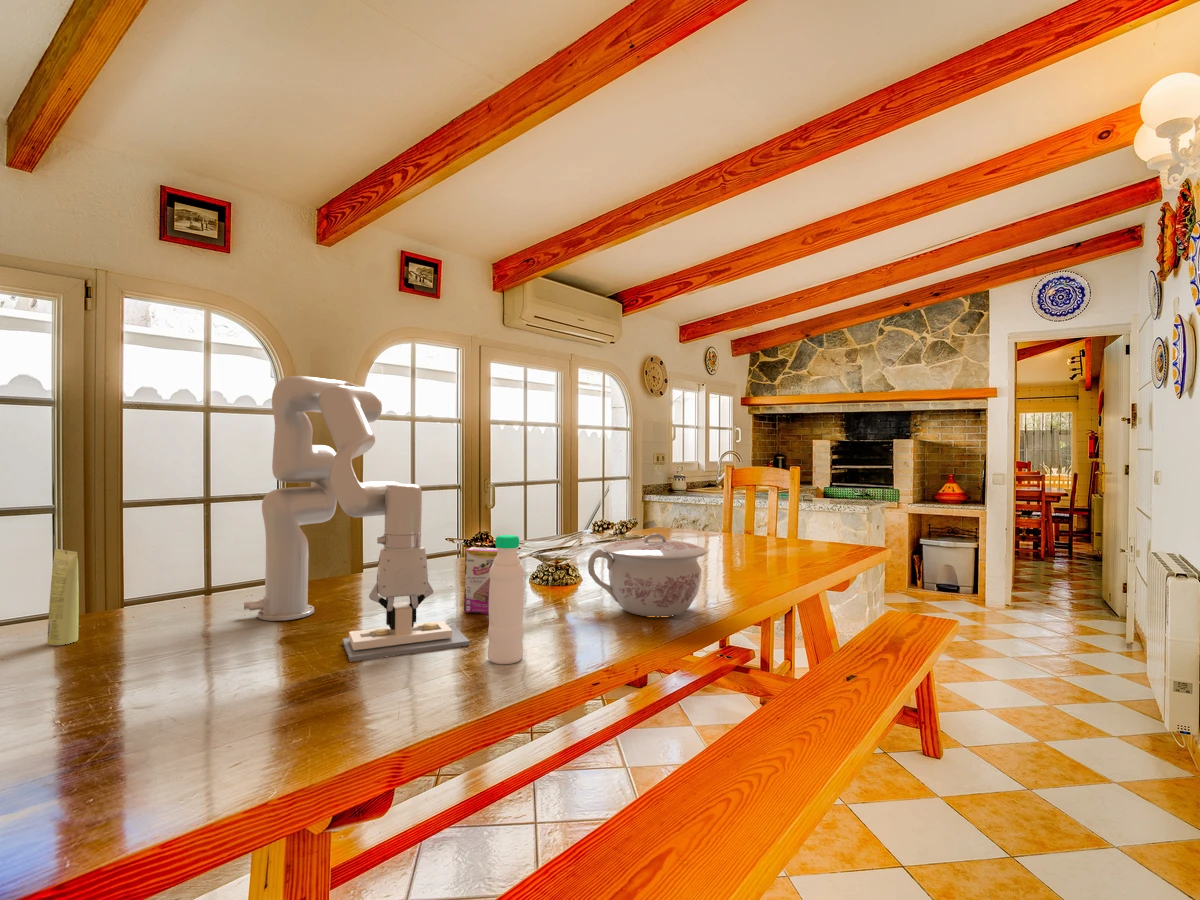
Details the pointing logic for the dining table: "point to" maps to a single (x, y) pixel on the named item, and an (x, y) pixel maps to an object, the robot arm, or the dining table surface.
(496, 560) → the water bottle
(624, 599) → the chamber pot
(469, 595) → the candy bar box
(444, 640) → the board
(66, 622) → the tube
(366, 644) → the pink tray with post
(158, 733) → the dining table surface
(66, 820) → the dining table surface
